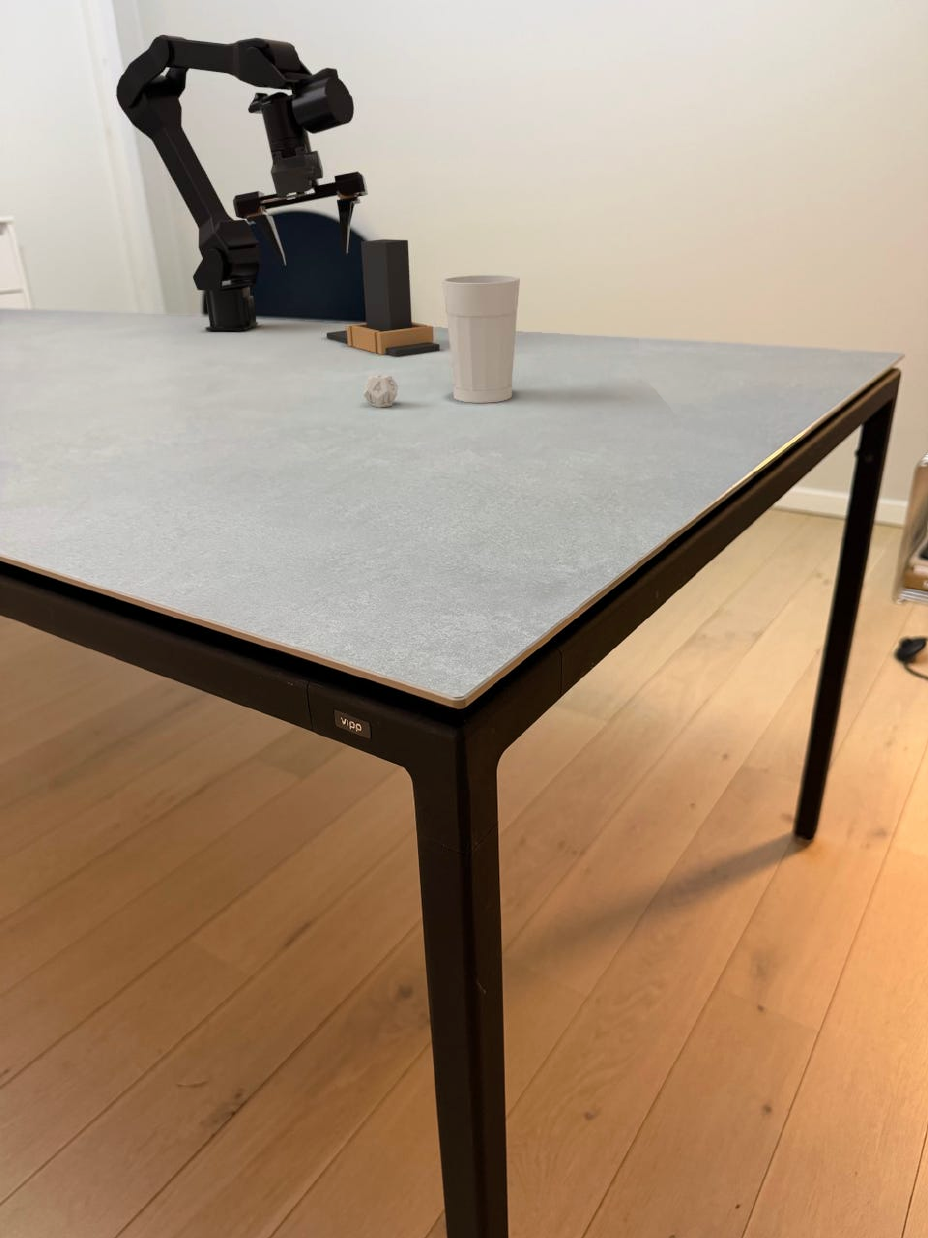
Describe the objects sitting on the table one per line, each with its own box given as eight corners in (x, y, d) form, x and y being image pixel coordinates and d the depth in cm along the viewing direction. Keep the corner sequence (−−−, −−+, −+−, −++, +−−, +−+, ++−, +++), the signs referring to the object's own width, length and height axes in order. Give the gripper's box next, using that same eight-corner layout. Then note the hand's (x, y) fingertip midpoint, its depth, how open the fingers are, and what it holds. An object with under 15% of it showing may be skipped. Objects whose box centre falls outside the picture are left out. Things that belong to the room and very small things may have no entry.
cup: (446, 388, 103) (443, 275, 98) (517, 387, 103) (518, 273, 98) (445, 405, 96) (441, 284, 91) (521, 403, 96) (521, 282, 91)
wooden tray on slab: (322, 338, 137) (320, 319, 135) (371, 332, 141) (370, 313, 140) (390, 357, 122) (389, 335, 121) (444, 349, 126) (443, 328, 125)
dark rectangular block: (367, 341, 129) (360, 241, 123) (388, 336, 132) (383, 238, 126) (391, 344, 126) (385, 242, 120) (412, 339, 129) (408, 239, 124)
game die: (401, 401, 98) (400, 372, 97) (394, 409, 95) (392, 379, 94) (369, 400, 99) (367, 372, 98) (361, 408, 96) (359, 379, 94)
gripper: (211, 147, 122) (241, 271, 127) (348, 119, 121) (373, 245, 126) (229, 157, 132) (256, 271, 138) (356, 132, 131) (378, 248, 137)
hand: (315, 259), depth 134 cm, fingers open, 9 cm apart
